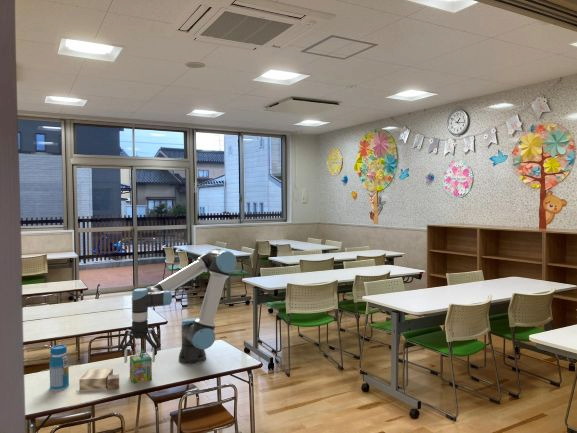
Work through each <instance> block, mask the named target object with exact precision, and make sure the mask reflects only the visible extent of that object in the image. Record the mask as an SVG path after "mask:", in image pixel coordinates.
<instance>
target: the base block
mask: <svg viewBox="0 0 577 433" xmlns="http://www.w3.org/2000/svg"><path fill="white" fill-rule="evenodd" d="M109 375H114V369H113V368H104V369H88V370H86V372H85V373H83V375H82V376H81V377H80V378H79V379H78V380H79V387H80V389H79V390H95V389H108V376H109Z"/></svg>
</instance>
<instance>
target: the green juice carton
mask: <svg viewBox="0 0 577 433" xmlns="http://www.w3.org/2000/svg"><path fill="white" fill-rule="evenodd" d="M152 363H153V362H152V356H150V354H149V353H147V352H146V353H145V350H144V349H141V350H140V354H135V355H130V356H129V379H130V380H131V382H132V383H133V384H138V383H139V384H140V383H144V382H147V381H151V380H152V379H153V377H152V376H153V372H152V370H153V367H152V366H153V364H152Z"/></svg>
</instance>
